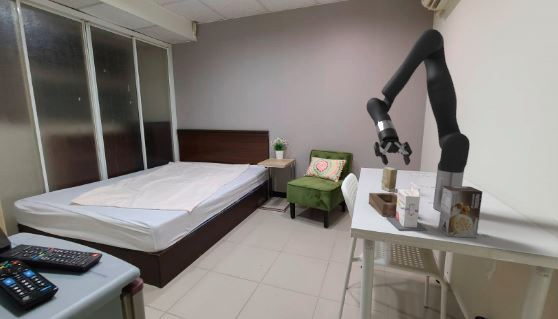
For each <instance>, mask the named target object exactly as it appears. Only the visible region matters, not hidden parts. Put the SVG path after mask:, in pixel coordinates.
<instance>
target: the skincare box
mask: <svg viewBox="0 0 558 319" xmlns="http://www.w3.org/2000/svg"><path fill="white" fill-rule="evenodd" d="M382 168H383V169H382V177H381V186H380V187H381V188H380V189H381V190H384V191H387V193H392V192H395V191H396V186H397V185H396V184H397V178H398V177H397V175H398V169H397V168H394V167H390V166H387V167H386V166H385V167H382Z"/></svg>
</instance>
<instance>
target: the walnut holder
mask: <svg viewBox="0 0 558 319" xmlns="http://www.w3.org/2000/svg"><path fill="white" fill-rule="evenodd" d="M397 196H398V194H396V193H395V192H369V194H368V204H369V206H371V207H372V208H373V209H374V210H375V211H376V212H377V213H378V214H379V215H380V216H381V217H396V208H397Z"/></svg>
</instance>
